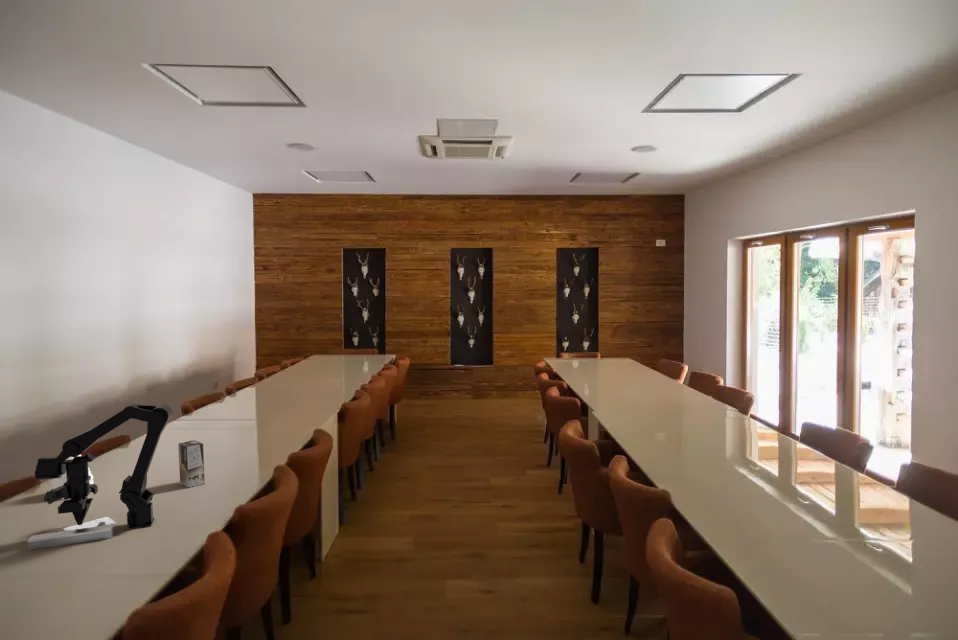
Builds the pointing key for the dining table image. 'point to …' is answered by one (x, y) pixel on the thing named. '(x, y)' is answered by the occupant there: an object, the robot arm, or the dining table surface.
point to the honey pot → (60, 481)
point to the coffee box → (191, 463)
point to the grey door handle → (71, 536)
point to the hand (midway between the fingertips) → (80, 524)
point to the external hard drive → (91, 524)
